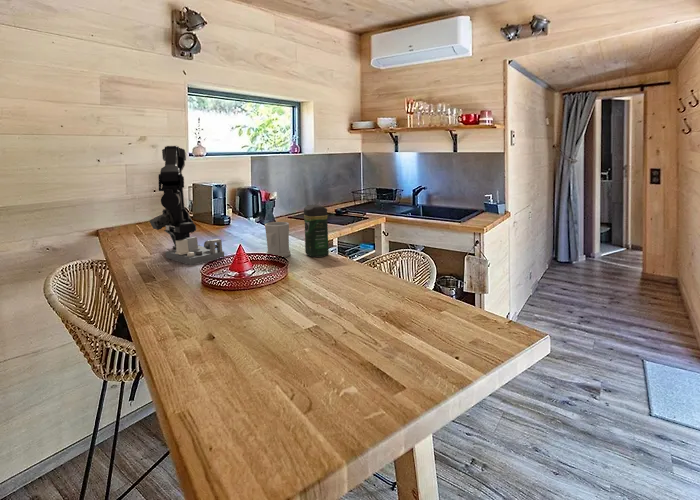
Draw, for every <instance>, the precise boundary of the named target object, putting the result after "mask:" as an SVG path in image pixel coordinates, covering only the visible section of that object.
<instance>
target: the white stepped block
mask: <svg viewBox="0 0 700 500" xmlns="http://www.w3.org/2000/svg"><path fill="white" fill-rule="evenodd" d="M185 239H187V240H188V248H189V251H190V252H194V251H199V250H200V249H199V248H198V237H197V236H190V237H189V238H185Z"/></svg>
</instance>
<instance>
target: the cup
mask: <svg viewBox="0 0 700 500" xmlns="http://www.w3.org/2000/svg"><path fill="white" fill-rule="evenodd" d="M264 229H265V237H266V238H265V239H266V245H267V248H266V249H267V251H266V255H267V254H274V255H279V256H283V257H284V258H288V257H289V256H291V250H290V239H289V238H290V234H289V233H290V222H286V221H273V222H267V223H265V224H264Z"/></svg>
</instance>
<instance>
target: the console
mask: <svg viewBox="0 0 700 500" xmlns="http://www.w3.org/2000/svg"><path fill="white" fill-rule="evenodd" d="M208 241H209V243H210V249H206V248H205V247H204V245H203V246H202V245H198V248H199V249H200V250H199V251H194V252H188V253H187V254H183V255H179V254H175V252H177V250H176V249H172V250H166V251H165V258H166V259H169V260H172V261H175V262H179V263H181V264H186V265H189V266H193V265H198V264H203V263H207V262H212V261H216V260H215V259H217V258H220V257H225V251H224V250H223V245H222V243H223V242H222V239H221V238H215V239H209V240H208ZM215 245H217V246H218V247H217V248H215ZM217 260H218V259H217Z"/></svg>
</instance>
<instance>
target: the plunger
mask: <svg viewBox="0 0 700 500" xmlns="http://www.w3.org/2000/svg"><path fill="white" fill-rule="evenodd" d="M203 247H205V248H206V249H210V243H209V240H205V242H204V243H203ZM217 247H218V246H217V244H215V249H217Z"/></svg>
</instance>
